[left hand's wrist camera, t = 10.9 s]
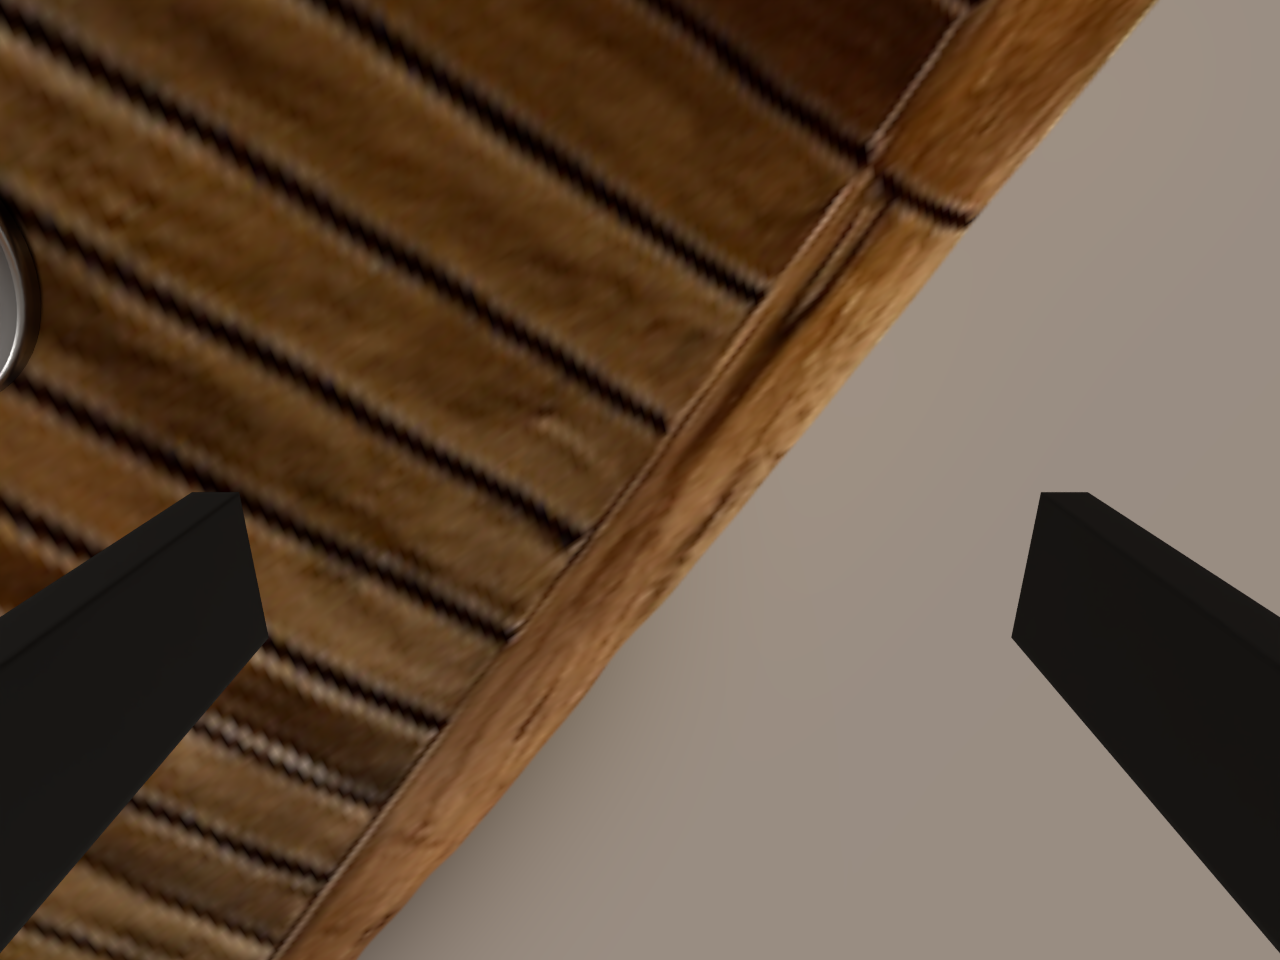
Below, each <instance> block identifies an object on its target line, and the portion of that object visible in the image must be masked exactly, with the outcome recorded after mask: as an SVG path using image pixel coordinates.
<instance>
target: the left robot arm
mask: <svg viewBox="0 0 1280 960" xmlns="http://www.w3.org/2000/svg"><path fill="white" fill-rule="evenodd" d="M40 320H41V298H40V288H39V283H38V278H37V273H36V270H35V266H34V263H33V259H32V257H31V254H30V252H29V249H28V246H27V244H26V242H25V240H24V238H23V236H22V234H21V231H20V229H19V228H18V226H17V224H16V223H15V221H14V219H13V217H12V216H11V214H10V213H9V211H8V210H7V208H6V207H5V205H4V204H3V202H2V201H1V200H0V391H2V390H3V389H5V388H6V387H7V386H8V385H9V384H11V383H12V382H13V381H14V380H15V379H16V378H17V376H18V375H19V374H20V373H21V372H22V370H23V369H24V367H25V366H26V364H27V363H28V361H29V359H30V357H31V355H32V353H33V350H34V347H35V345H36V342H37V338H38V333H39V329H40ZM268 638H269V637H268V632H267V627H266V622H265V617H264V612H263V608H262V603H261V598H260V593H259V588H258V583H257V578H256V573H255V568H254V564H253V559H252V554H251V549H250V544H249V539H248V534H247V529H246V524H245V519H244V515H243V510H242V505H241V500H240V495H239V492H192V493H190V494H189V495H187V496H186V497H184V498H183V499H181V500H180V501H178V502H177V503H175V504H173V505H172V506H170V507H169V508H167V509H166V510H164V511H163V512H161V513H160V514H158V515H157V516H155V517H153V518H152V519H150V520H149V521H147V522H146V523H144V524H143V525H141V526H140V527H138V528H137V529H135V530H133V531H132V532H130V533H129V534H127V535H126V536H124V537H123V538H121V539H120V540H118V541H117V542H115V543H113V544H112V545H110V546H109V547H107V548H106V549H104V550H103V551H101V552H100V553H98V554H97V555H95V556H93V557H92V558H90V559H89V560H87V561H86V562H84V563H83V564H81V565H80V566H78V567H77V568H75V569H74V570H72V571H70V572H69V573H67V574H66V575H64V576H63V577H61V578H60V579H58V580H57V581H55V582H54V583H52V584H50V585H49V586H47V587H46V588H44V589H43V590H41V591H40V592H38V593H37V594H35V595H34V596H32V597H30V598H29V599H27V600H26V601H24V602H23V603H21V604H20V605H18V606H17V607H15V608H14V609H12V610H10V611H9V612H7V613H6V614H4V615H3V616H1V617H0V953H1V951H2V950H3V949H4V948H5V947H6V946H7V944H8V943H9V942H10V941H11V940H12V938H13V937H14V936H15V935H16V934H17V933H18V931H19V930H20V929H21V928H22V927H23V926H24V924H25V923H26V922H27V921H28V920H29V918H30V917H31V916H32V915H33V914H34V913H35V911H36V910H37V909H38V908H39V907H40V906H41V904H42V903H43V902H44V901H45V900H46V898H47V897H48V896H49V895H50V894H51V893H52V891H53V890H54V889H55V888H56V887H57V886H58V884H59V883H60V882H61V881H62V880H63V879H64V877H65V876H66V875H67V874H68V873H69V871H70V870H71V869H72V868H73V867H74V866H75V864H76V863H77V862H78V861H79V860H80V859H81V857H82V856H83V855H84V854H85V853H86V851H87V850H88V849H89V848H90V847H91V846H92V844H93V843H94V842H95V841H96V840H97V839H98V837H99V836H100V835H101V834H102V833H103V832H104V830H105V829H106V828H107V827H108V826H109V824H110V823H111V822H112V821H113V820H114V819H115V817H116V816H117V815H118V814H119V813H120V812H121V810H122V809H123V808H124V807H125V806H126V804H127V803H128V802H129V801H130V800H131V799H132V797H133V796H134V795H135V794H136V793H137V792H138V790H139V789H140V788H141V787H142V786H143V784H144V783H145V782H146V781H147V780H148V779H149V777H150V776H151V775H152V774H153V773H154V772H155V770H156V769H157V768H158V767H159V766H160V765H161V763H162V762H163V761H164V760H165V759H166V757H167V756H168V755H169V754H170V753H171V752H172V750H173V749H174V748H175V747H176V746H177V745H178V743H179V742H180V741H181V740H182V739H183V737H184V736H185V735H186V734H187V733H188V732H189V730H190V729H191V728H192V727H193V726H194V725H195V723H196V722H197V721H198V720H199V719H200V718H201V716H202V715H203V714H204V713H205V712H206V710H207V709H208V708H209V707H210V706H211V705H212V703H213V702H214V701H215V700H216V699H217V698H218V696H219V695H220V694H221V693H222V692H223V690H224V689H225V688H226V687H227V686H228V685H229V683H230V682H231V681H232V680H233V679H234V678H235V676H236V675H237V674H238V673H239V672H240V671H241V669H242V668H243V667H244V666H245V665H246V663H247V662H248V661H249V660H250V659H251V658H252V656H253V655H254V654H255V653H256V652H257V651H258V649H259V648H260V647H261V646H262V645H263V643H264V642H265V641H266V640H267V639H268ZM1012 639H1013V640H1014V641H1015V642H1016V643H1017V645H1018V646H1019V647H1020V648H1021V649H1022V651H1023V652H1024V653H1025V654H1026V655H1027V656H1028V658H1029V659H1030V660H1031V661H1032V662H1033V663H1034V665H1035V666H1036V667H1037V668H1038V669H1039V670H1040V672H1041V673H1042V674H1043V675H1044V676H1045V678H1046V679H1047V680H1048V681H1049V682H1050V683H1051V685H1052V686H1053V687H1054V688H1055V689H1056V690H1057V692H1058V693H1059V694H1060V695H1061V696H1062V697H1063V699H1064V700H1065V701H1066V702H1067V703H1068V705H1069V706H1070V707H1071V708H1072V709H1073V710H1074V712H1075V713H1076V714H1077V715H1078V716H1079V718H1080V719H1081V720H1082V721H1083V722H1084V723H1085V725H1086V726H1087V727H1088V728H1089V729H1090V730H1091V732H1092V733H1093V734H1094V735H1095V736H1096V737H1097V739H1098V740H1099V741H1100V742H1101V743H1102V744H1103V746H1104V747H1105V748H1106V749H1107V750H1108V752H1109V753H1110V754H1111V755H1112V756H1113V757H1114V759H1115V760H1116V761H1117V762H1118V763H1119V765H1120V766H1121V767H1122V768H1123V769H1124V770H1125V772H1126V773H1127V774H1128V775H1129V776H1130V777H1131V779H1132V780H1133V781H1134V782H1135V783H1136V784H1137V786H1138V787H1139V788H1140V789H1141V790H1142V792H1143V793H1144V794H1145V795H1146V796H1147V797H1148V799H1149V800H1150V801H1151V802H1152V803H1153V804H1154V806H1155V807H1156V808H1157V809H1158V810H1159V811H1160V813H1161V814H1162V815H1163V816H1164V817H1165V819H1166V820H1167V821H1168V822H1169V823H1170V824H1171V826H1172V827H1173V828H1174V829H1175V830H1176V832H1177V833H1178V834H1179V835H1180V836H1181V837H1182V839H1183V840H1184V841H1185V842H1186V843H1187V844H1188V846H1189V847H1190V848H1191V849H1192V850H1193V851H1194V853H1195V854H1196V855H1197V856H1198V857H1199V859H1200V860H1201V861H1202V862H1203V863H1204V864H1205V866H1206V867H1207V868H1208V869H1209V870H1210V871H1211V873H1212V874H1213V875H1214V876H1215V877H1216V879H1217V880H1218V881H1219V882H1220V883H1221V884H1222V886H1223V887H1224V888H1225V889H1226V890H1227V891H1228V893H1229V894H1230V895H1231V896H1232V897H1233V898H1234V900H1235V901H1236V902H1237V903H1238V904H1239V906H1240V907H1241V908H1242V909H1243V910H1244V911H1245V913H1246V914H1247V915H1248V916H1249V917H1250V918H1251V920H1252V921H1253V922H1254V923H1255V924H1256V925H1257V927H1258V928H1259V929H1260V930H1261V931H1262V933H1263V934H1264V935H1265V936H1266V937H1267V938H1268V940H1269V941H1270V942H1271V943H1272V944H1273V945H1274V947H1275V948H1276V949H1277V950H1278V951H1279V952H1280V617H1279V616H1277V615H1276V614H1274V613H1273V612H1271V611H1270V610H1268V609H1266V608H1265V607H1263V606H1262V605H1260V604H1259V603H1257V602H1256V601H1254V600H1253V599H1251V598H1250V597H1248V596H1246V595H1245V594H1243V593H1242V592H1240V591H1239V590H1237V589H1236V588H1234V587H1233V586H1231V585H1230V584H1228V583H1226V582H1225V581H1223V580H1222V579H1220V578H1219V577H1217V576H1216V575H1214V574H1213V573H1211V572H1210V571H1208V570H1206V569H1205V568H1203V567H1202V566H1200V565H1199V564H1197V563H1196V562H1194V561H1193V560H1191V559H1190V558H1188V557H1186V556H1185V555H1183V554H1182V553H1180V552H1179V551H1177V550H1176V549H1174V548H1173V547H1171V546H1170V545H1168V544H1166V543H1165V542H1163V541H1162V540H1160V539H1159V538H1157V537H1156V536H1154V535H1153V534H1151V533H1150V532H1148V531H1147V530H1145V529H1143V528H1142V527H1140V526H1139V525H1137V524H1136V523H1134V522H1133V521H1131V520H1130V519H1128V518H1127V517H1125V516H1123V515H1122V514H1120V513H1119V512H1117V511H1116V510H1114V509H1113V508H1111V507H1110V506H1108V505H1107V504H1105V503H1103V502H1102V501H1100V500H1099V499H1097V498H1096V497H1094V496H1093V495H1091V494H1090V493H1088V492H1041V495H1040V500H1039V505H1038V510H1037V515H1036V519H1035V524H1034V530H1033V534H1032V539H1031V544H1030V549H1029V554H1028V559H1027V564H1026V569H1025V573H1024V578H1023V583H1022V588H1021V593H1020V598H1019V603H1018V608H1017V612H1016V617H1015V622H1014V627H1013V632H1012Z"/></svg>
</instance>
